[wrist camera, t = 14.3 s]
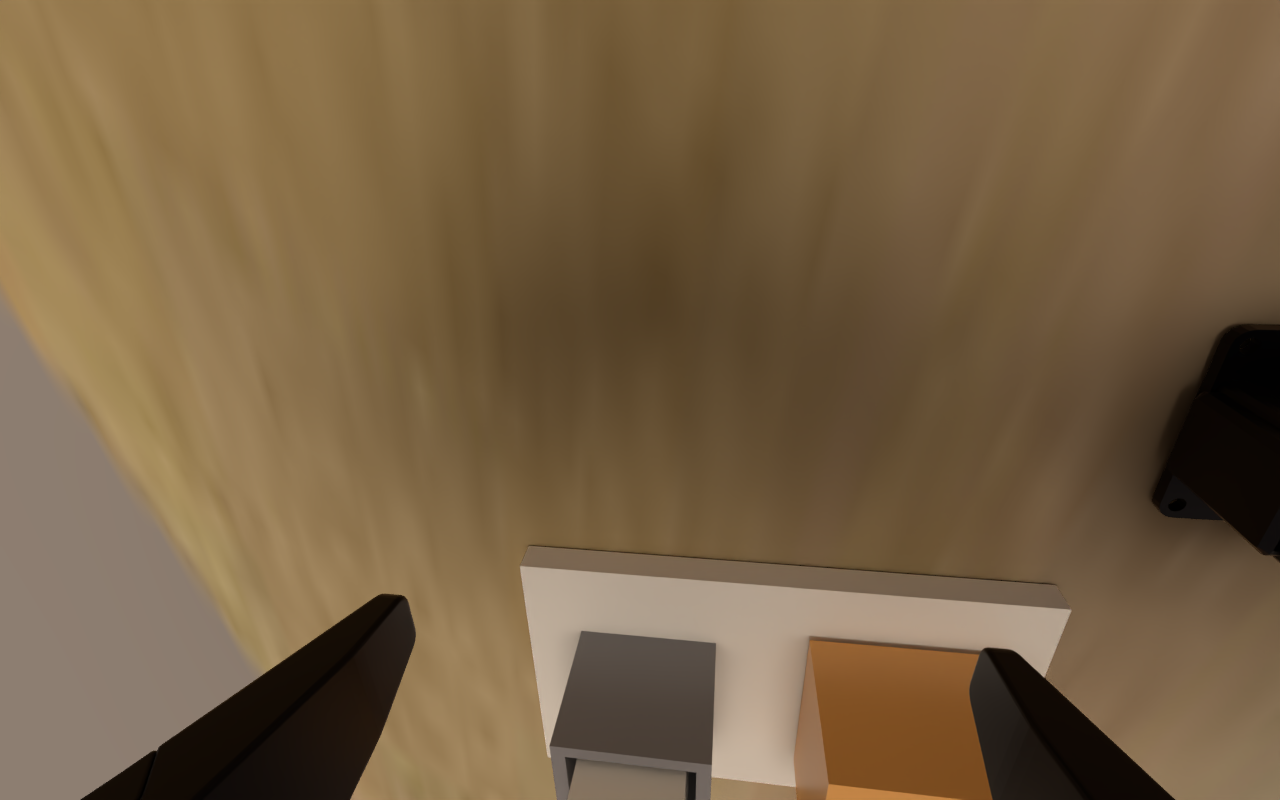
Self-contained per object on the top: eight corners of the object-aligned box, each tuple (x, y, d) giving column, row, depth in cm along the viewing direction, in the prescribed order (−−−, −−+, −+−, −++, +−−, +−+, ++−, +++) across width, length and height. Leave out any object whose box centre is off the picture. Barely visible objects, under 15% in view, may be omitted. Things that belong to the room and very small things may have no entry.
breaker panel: (1055, 585, 23) (1157, 745, 17) (981, 783, 28) (1040, 952, 23) (528, 545, 25) (472, 673, 20) (554, 734, 31) (515, 874, 25)
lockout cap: (1014, 657, 23) (1089, 814, 18) (971, 778, 26) (1024, 938, 21) (809, 640, 24) (828, 783, 19) (793, 759, 27) (806, 907, 22)
